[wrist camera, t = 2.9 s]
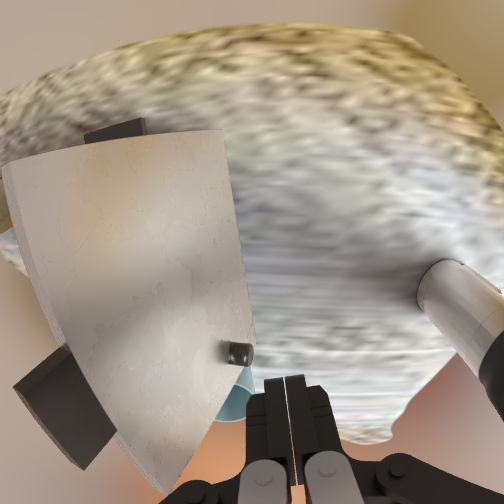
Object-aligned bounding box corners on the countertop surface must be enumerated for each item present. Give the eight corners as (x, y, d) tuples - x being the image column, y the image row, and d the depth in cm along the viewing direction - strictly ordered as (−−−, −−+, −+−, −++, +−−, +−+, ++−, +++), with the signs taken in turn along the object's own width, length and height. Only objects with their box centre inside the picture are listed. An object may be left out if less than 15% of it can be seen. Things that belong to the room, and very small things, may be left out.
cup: (252, 372, 45) (253, 424, 35) (202, 368, 45) (193, 419, 35) (258, 333, 42) (260, 384, 33) (203, 328, 42) (191, 378, 32)
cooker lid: (211, 131, 24) (238, 126, 23) (247, 342, 31) (270, 344, 30) (-65, 190, 6) (-54, 175, 5) (135, 520, 13) (165, 535, 12)
